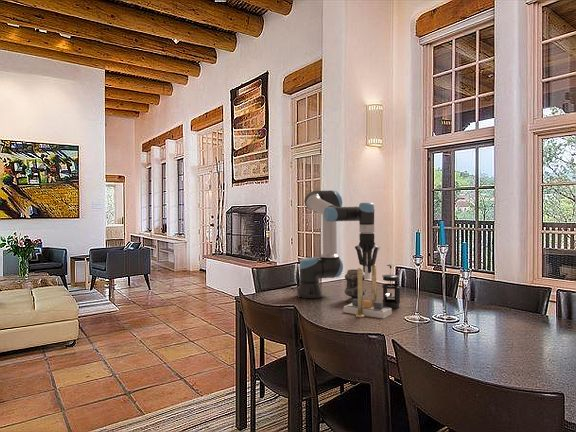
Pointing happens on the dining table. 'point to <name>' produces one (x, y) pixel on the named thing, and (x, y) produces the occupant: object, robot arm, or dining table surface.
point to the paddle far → (378, 305)
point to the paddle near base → (355, 302)
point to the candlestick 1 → (360, 294)
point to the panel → (369, 311)
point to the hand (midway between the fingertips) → (367, 278)
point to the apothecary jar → (353, 284)
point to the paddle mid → (367, 303)
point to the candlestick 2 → (373, 284)
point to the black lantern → (390, 302)
